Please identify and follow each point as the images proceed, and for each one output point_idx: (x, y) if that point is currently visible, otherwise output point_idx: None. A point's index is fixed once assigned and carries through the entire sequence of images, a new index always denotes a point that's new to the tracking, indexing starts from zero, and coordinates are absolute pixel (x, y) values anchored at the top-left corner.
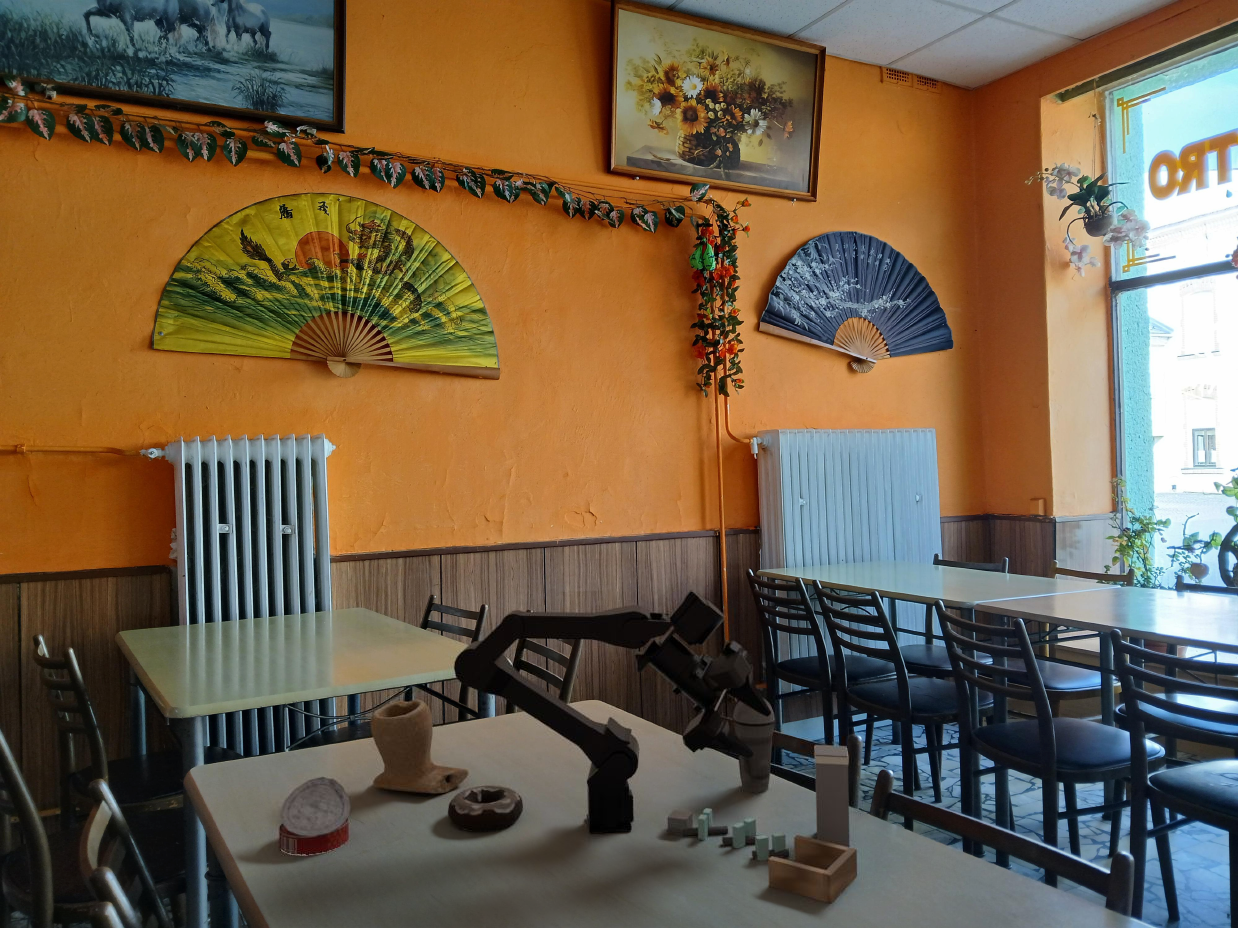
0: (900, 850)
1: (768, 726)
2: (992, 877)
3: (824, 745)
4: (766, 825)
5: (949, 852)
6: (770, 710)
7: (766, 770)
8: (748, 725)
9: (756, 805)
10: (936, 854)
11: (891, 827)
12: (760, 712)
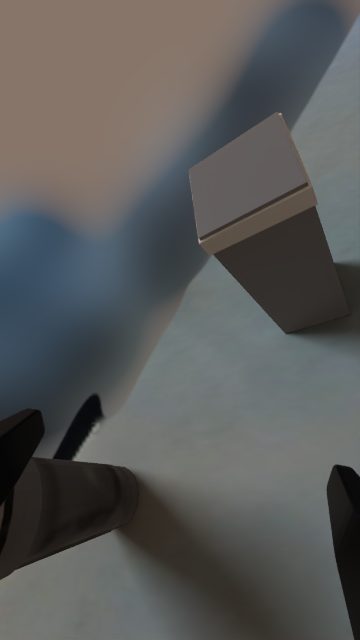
0: None
1: None
2: (346, 81)
3: (195, 215)
4: (293, 441)
5: None
6: (22, 411)
7: (102, 468)
8: (6, 530)
9: (196, 481)
10: None
11: None
12: (23, 466)
